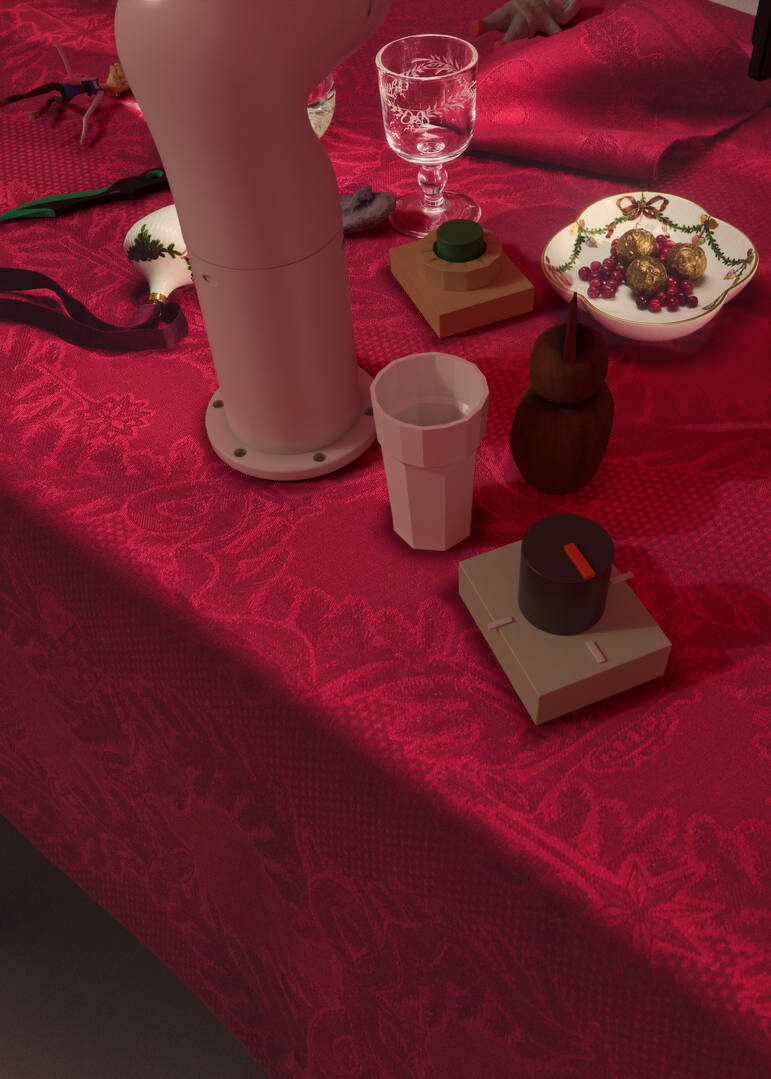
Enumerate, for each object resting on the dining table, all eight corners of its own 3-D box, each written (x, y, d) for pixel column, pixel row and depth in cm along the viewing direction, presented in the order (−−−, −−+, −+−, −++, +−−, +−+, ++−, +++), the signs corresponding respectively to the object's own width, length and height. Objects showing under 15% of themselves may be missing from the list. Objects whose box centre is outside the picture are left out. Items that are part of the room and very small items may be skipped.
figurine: (171, 16, 101) (6, 71, 90) (185, 103, 107) (31, 165, 96) (106, -1, 106) (-59, 49, 95) (122, 83, 112) (-31, 140, 101)
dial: (503, 583, 56) (505, 526, 53) (578, 556, 57) (585, 498, 54) (543, 647, 53) (548, 591, 50) (621, 617, 54) (632, 560, 51)
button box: (390, 271, 82) (388, 228, 79) (478, 246, 84) (478, 203, 81) (439, 338, 76) (438, 295, 73) (533, 310, 78) (536, 266, 75)
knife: (227, 145, 97) (238, 169, 94) (228, 152, 97) (239, 176, 94) (-16, 197, 93) (-13, 224, 90) (-13, 205, 93) (-10, 232, 90)
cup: (362, 537, 63) (347, 406, 55) (414, 471, 67) (407, 340, 59) (454, 575, 61) (453, 444, 53) (502, 505, 65) (508, 372, 56)
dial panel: (450, 596, 60) (450, 562, 58) (583, 548, 62) (587, 514, 59) (527, 729, 54) (530, 698, 51) (672, 672, 55) (681, 639, 53)
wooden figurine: (576, 522, 63) (601, 330, 52) (495, 491, 65) (501, 301, 54) (618, 456, 67) (650, 263, 55) (540, 429, 69) (555, 238, 58)
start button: (429, 245, 78) (428, 225, 77) (470, 233, 79) (471, 213, 78) (448, 269, 76) (448, 249, 75) (490, 256, 77) (491, 236, 75)
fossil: (292, 210, 85) (311, 174, 88) (304, 243, 88) (322, 208, 90) (383, 208, 82) (399, 171, 85) (393, 242, 85) (408, 205, 87)
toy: (453, -8, 105) (547, -68, 110) (442, 32, 110) (532, -26, 115) (525, 60, 104) (617, -3, 109) (511, 98, 109) (599, 36, 114)
